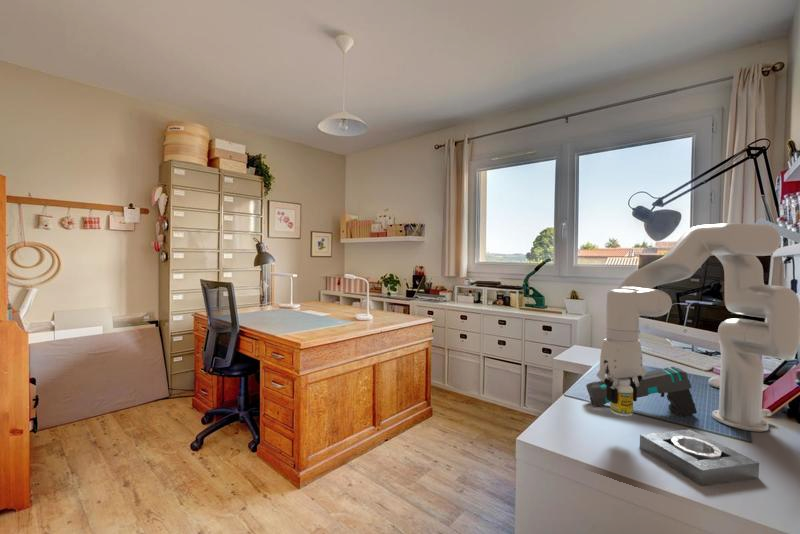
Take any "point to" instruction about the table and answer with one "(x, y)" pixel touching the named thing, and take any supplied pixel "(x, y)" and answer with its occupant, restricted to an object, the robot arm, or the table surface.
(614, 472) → the table surface
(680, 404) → the gun
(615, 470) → the table surface
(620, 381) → the supplement bottle
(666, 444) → the bore block
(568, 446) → the table surface
